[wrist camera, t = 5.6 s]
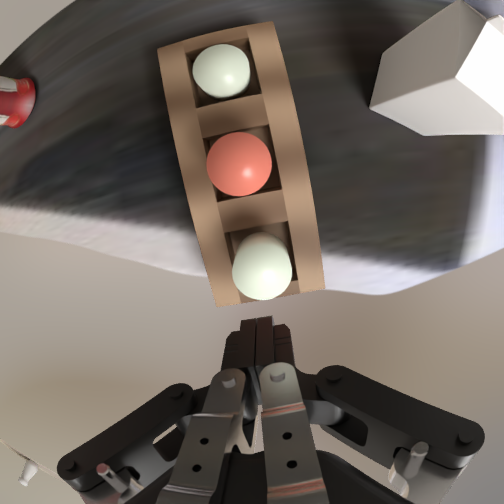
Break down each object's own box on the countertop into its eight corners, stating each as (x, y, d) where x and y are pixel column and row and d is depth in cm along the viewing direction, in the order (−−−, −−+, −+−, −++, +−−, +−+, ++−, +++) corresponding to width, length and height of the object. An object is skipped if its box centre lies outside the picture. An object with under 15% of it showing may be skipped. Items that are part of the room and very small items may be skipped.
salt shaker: (38, 464, 60) (26, 486, 48) (40, 468, 62) (29, 489, 50) (26, 456, 60) (14, 477, 47) (29, 460, 61) (17, 481, 49)
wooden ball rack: (173, 64, 24) (156, 49, 19) (271, 41, 23) (272, 21, 18) (223, 284, 31) (216, 307, 26) (316, 267, 30) (325, 288, 25)
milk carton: (423, 136, 25) (566, 141, 7) (367, 108, 24) (500, 65, 6) (435, 82, 23) (562, 51, 5) (381, 53, 22) (492, -23, 4)
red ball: (209, 142, 22) (200, 140, 18) (264, 130, 21) (264, 126, 18) (221, 195, 23) (214, 202, 20) (275, 184, 22) (277, 189, 19)
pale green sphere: (197, 64, 22) (188, 52, 18) (245, 53, 21) (242, 39, 18) (206, 106, 23) (198, 99, 20) (255, 95, 22) (254, 86, 19)
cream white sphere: (231, 237, 24) (225, 250, 21) (283, 227, 24) (286, 239, 20) (242, 284, 25) (239, 304, 22) (291, 276, 25) (295, 294, 22)
